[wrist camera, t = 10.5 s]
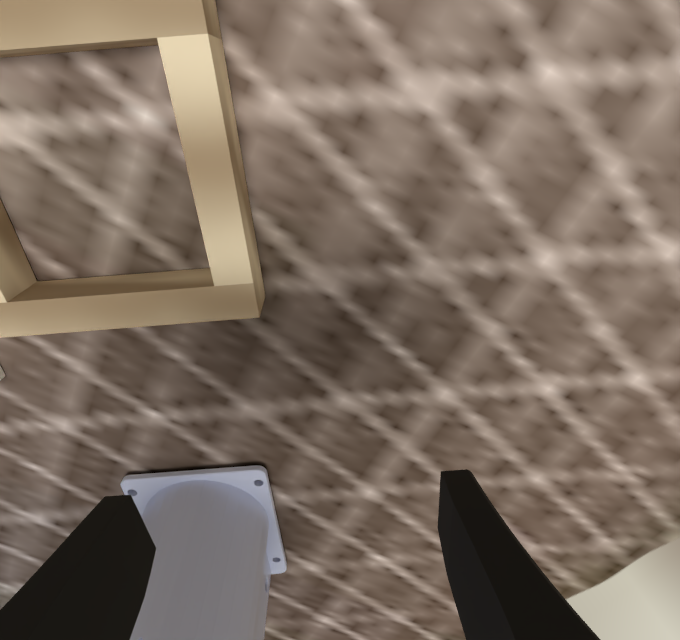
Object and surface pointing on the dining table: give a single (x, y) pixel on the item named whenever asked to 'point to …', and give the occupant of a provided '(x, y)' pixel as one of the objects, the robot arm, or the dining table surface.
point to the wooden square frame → (201, 160)
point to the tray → (2, 373)
